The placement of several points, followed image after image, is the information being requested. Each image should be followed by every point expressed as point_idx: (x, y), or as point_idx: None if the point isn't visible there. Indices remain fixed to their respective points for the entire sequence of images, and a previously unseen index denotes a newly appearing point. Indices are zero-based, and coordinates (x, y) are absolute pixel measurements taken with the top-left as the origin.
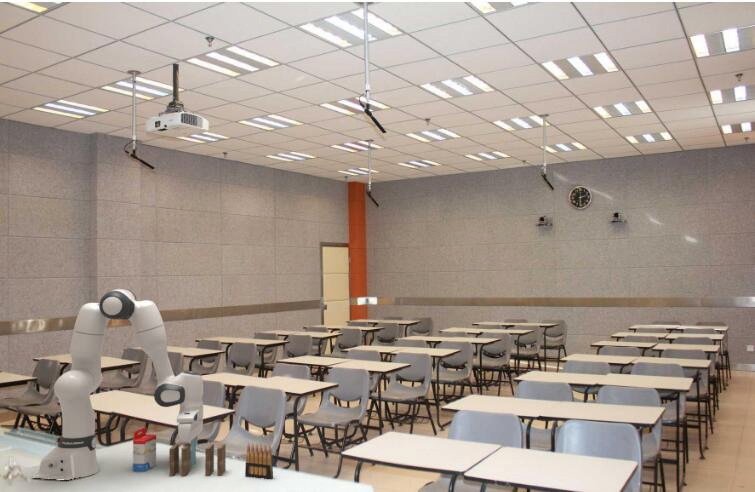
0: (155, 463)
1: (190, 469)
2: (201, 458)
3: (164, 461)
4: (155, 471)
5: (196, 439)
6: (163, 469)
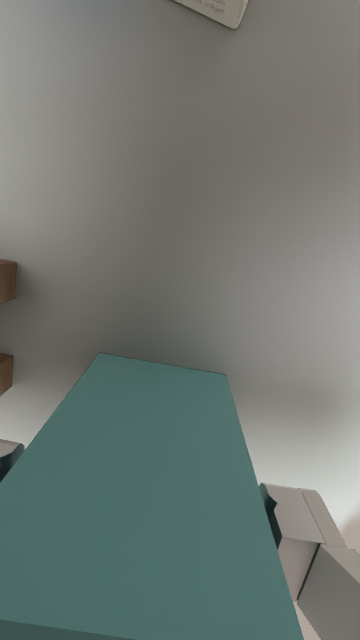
0: (227, 10)
1: (2, 392)
2: (330, 435)
3: (350, 110)
4: (21, 69)
5: (328, 638)
6: (77, 147)
